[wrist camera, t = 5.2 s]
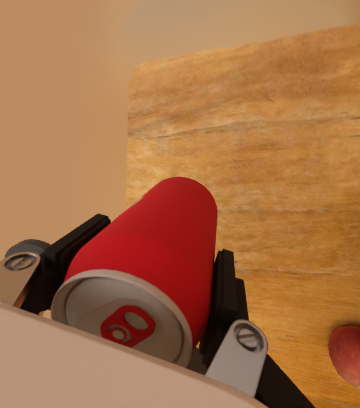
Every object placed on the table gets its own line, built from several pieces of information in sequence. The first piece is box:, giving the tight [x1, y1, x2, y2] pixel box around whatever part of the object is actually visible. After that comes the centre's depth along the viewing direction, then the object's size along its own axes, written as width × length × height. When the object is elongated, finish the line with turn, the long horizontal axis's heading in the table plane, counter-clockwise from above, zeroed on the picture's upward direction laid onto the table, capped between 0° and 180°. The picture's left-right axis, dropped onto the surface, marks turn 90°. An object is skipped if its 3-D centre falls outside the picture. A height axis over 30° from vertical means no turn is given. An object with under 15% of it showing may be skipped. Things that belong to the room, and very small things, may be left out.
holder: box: [186, 348, 207, 376], centre depth 42 cm, size 11×11×4 cm
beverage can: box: [51, 177, 217, 368], centre depth 13 cm, size 6×6×12 cm
